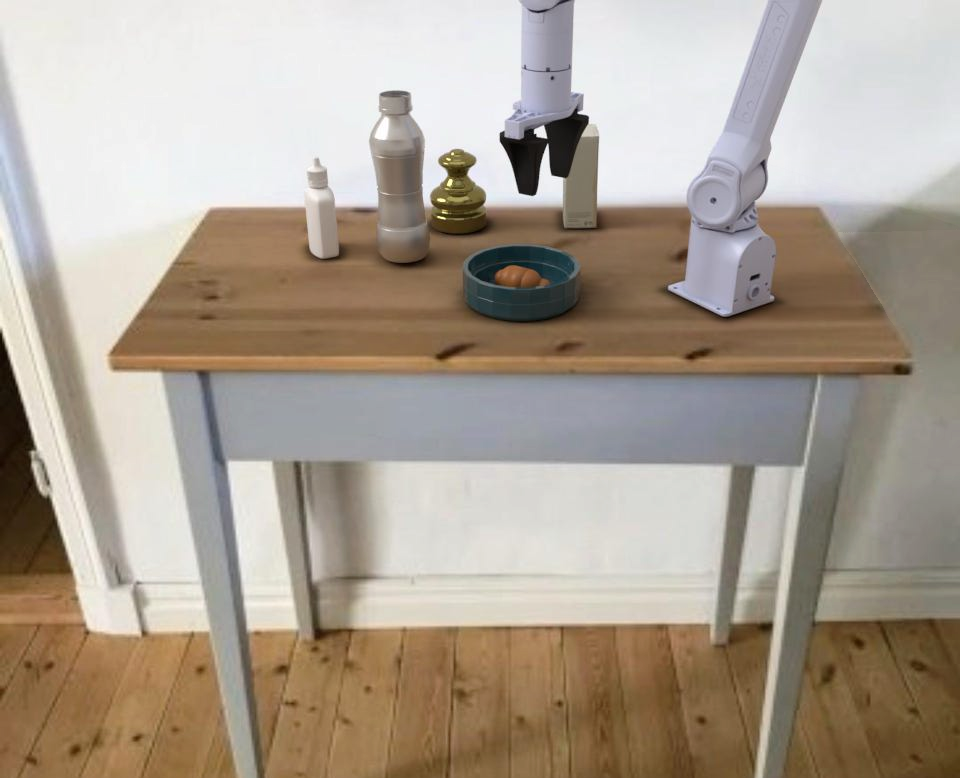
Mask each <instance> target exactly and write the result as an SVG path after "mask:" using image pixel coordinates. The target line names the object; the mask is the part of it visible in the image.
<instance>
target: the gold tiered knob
mask: <svg viewBox="0 0 960 778" xmlns="http://www.w3.org/2000/svg"><path fill="white" fill-rule="evenodd" d="M477 162H478V161H477V157H476V156H475V155H474V154H472V153H471V152H467V151H465V150H464V149H462V148H454V149H451V150H450V151H448V152H445V153H444V154H441V155H440V156H439V157H438V159H437V163H438V165H439V166H440V167H441V168H443V169H444V170H445V171H446V174H447V176H446V177H445V178H444V180H443V181H441V182H440V183H439V185H438V186H436V187H434V188H433V189H432V190H431V192H430V194H429V200H430V203H431V205H432V207H431V208H430V220H431V221H430V225H431V226H432V228H433V229H435V230H436V231H438V232H441V233H445V234H450V235H451V234H452V235H461V234H462V235H464V234H471V233H475V232H478V231H480V230H482V229H483V228H484V227H486V225H487V207H486V206H485V203H486V201H487V192H486V190H485V189H484V188H483V187H482V186H481V185H477V183H476V182H475V181H474V180H472V179H471V177H470V176H469V172H470V170H471V169H472V167H474V166H475V165H476V164H477Z"/></svg>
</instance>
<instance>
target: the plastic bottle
mask: <svg viewBox="0 0 960 778" xmlns="http://www.w3.org/2000/svg"><path fill="white" fill-rule="evenodd" d="M413 107H414V106H413V103H412V92H410V91H407V90H401V89H400V90H399V89H398V90H395V89H394V90H386V91H382V92H380V93H379V94H378V112H379V113H381V114H380V117H379V119H377V121H376V122H375V124H374V126H373V128H372V130H370V135H369V138H368V144H369V150H370V155H371V159H372V164H373V169H374V173H375V181H376V186H377V189H376V190H377V203H378V204H377V224H376V230H375V231H376V233H375V243H376V247H377V250H378V253H379V254H380V255H381V257H382V258H383V259H385V260H386V261H388V262H392V263H398V264H399V263H401V264H402V263H403V264H404V263H414V262H417V261H420V260H422V259H424V258H425V257H426V256H427V254H428V253H429V252H430V251H429V250H430V245H431V244H430V243H431V234H430V229H429V228H430V227H429V224H428V221H427V218H426V217H427V216H426V210H425V205H424V204H425V203H424V194H423V193H424V192H423V191H424V190H423V189H424V188H423V184H424V183H423V182H424V181H423V180H424V178H423V177H424V175H423V174H424V173H423V171H424V161H425V148H426V139H425V136H424V133H423V130H422V129H421V127H420V125H419V124H418V122H416V120H415V119H414V117H413V116H412V115H411V112H412V111H413V110H414V109H413Z"/></svg>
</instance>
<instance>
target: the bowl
mask: <svg viewBox="0 0 960 778" xmlns="http://www.w3.org/2000/svg"><path fill="white" fill-rule="evenodd" d="M580 264H581V263H580V261H579V260H578V259H577V258H576V257H575V256H574V255H572V254H570V253H569V252H566V251H564V250H562V249H560V248H555V247H551V246H547V245H541V244H532V243H531V244H530V243H529V244H528V243H512V244H503V245H496V246H495V245H494V246H491V247H487V248H484V249H481V250H478V251H477V252H473V253H472V254H470V255H469V256H468V257H467V258H466V259H465V260H464V261H463V264H462V298H463V300H464V301H465V302H466V304H467V305H468V306H469V307H471V308H472V309H473V310H475V311H476V312H477V313H479V314H481V315H483V316H486V317H488V318H492V319H497V320H503V321H511V322H533V321H539V320H547V319H550V318H554V317H557V316H559V315H561V314H563V313H565V312H567V311H569V309H571V308H572V307H574V306H575V304H576V303H577V301H578V300H579V299H580V287H581V286H580V285H581V284H580V283H581V265H580ZM511 265H515V266H520V267H524V268H528V269H532V270H535V271H536V272H537V273H538V274H539V275H540V277H541V279H547V280H548V281H550V283H551V284H549V285H545V286H537V287H506V286H499V285H496V283H495V279H494V277H495V274H496V273H497V272H498V271H499V270H502V269H504V268H506V267H508V266H511Z"/></svg>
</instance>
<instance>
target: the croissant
mask: <svg viewBox="0 0 960 778" xmlns="http://www.w3.org/2000/svg"><path fill="white" fill-rule="evenodd" d="M494 279H495V283H496V285H499V286H506V287H537V286H545V285H549V284H551V283H550V281H548V280H547V279H541V277H540V275H539V274H538V273H537V272H536V271H535V270H532V269H528V268H524V267H520V266H515V265H511V266H508V267H506V268H504V269H502V270H499V271H498V272H497V273H496V274H495V277H494Z"/></svg>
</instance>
